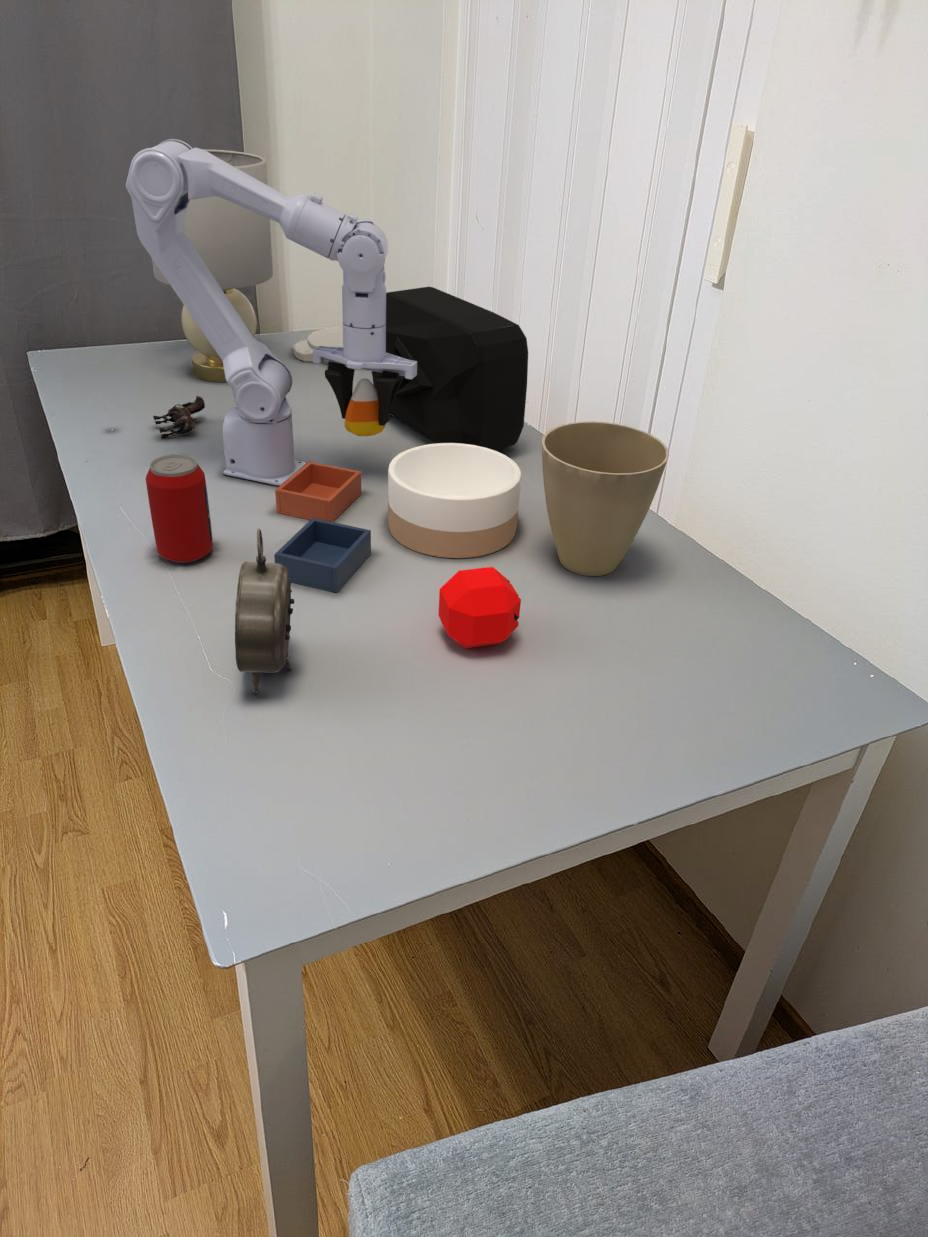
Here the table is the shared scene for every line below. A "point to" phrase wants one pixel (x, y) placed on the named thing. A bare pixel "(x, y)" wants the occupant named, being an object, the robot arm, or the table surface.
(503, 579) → the ball
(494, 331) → the black hard case
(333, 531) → the slate bin
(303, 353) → the lid
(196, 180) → the robot arm
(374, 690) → the table surface
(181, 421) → the horse figurine
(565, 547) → the plant pot
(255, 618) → the alarm clock
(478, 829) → the table surface
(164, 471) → the beverage can
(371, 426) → the candy corn
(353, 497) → the terracotta bin
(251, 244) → the lamp
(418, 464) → the bowl
